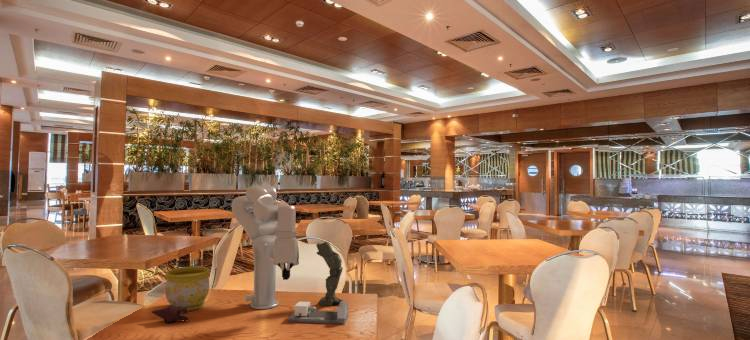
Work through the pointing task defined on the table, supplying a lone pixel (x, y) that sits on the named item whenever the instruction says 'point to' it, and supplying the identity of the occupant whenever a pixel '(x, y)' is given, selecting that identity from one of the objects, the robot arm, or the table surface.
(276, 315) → the table surface
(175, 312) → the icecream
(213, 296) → the table surface
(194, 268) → the flowerpot
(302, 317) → the gauge base
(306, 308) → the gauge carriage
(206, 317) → the table surface
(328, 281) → the mechanical leg
